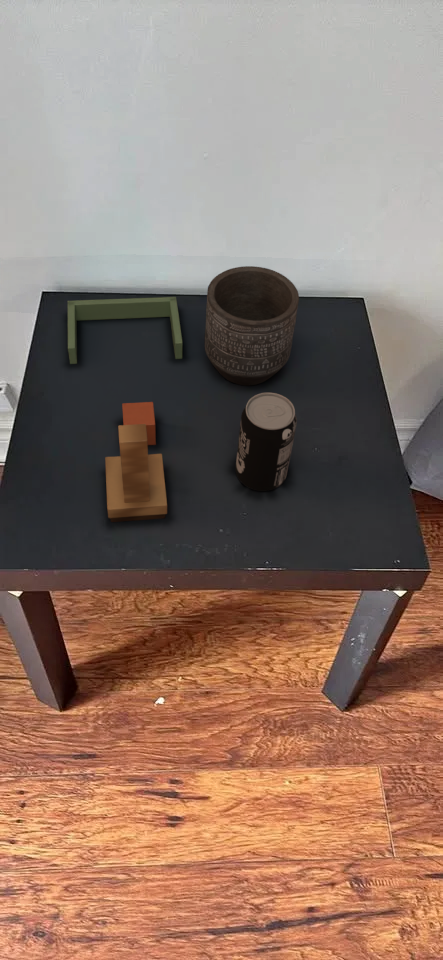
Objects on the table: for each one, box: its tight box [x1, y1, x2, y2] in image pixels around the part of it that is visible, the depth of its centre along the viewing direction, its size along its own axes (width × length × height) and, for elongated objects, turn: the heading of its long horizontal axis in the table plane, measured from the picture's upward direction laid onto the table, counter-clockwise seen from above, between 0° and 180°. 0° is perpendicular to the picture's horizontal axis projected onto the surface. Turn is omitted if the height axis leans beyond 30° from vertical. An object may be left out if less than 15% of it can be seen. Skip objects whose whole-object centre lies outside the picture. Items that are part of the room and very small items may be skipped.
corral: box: [67, 296, 183, 365], centre depth 109 cm, size 16×10×3 cm, turn 97°
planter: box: [204, 265, 300, 386], centre depth 103 cm, size 12×12×13 cm
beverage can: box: [235, 392, 298, 492], centre depth 91 cm, size 7×7×12 cm
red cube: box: [121, 401, 157, 446], centre depth 97 cm, size 4×4×4 cm
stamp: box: [104, 424, 168, 523], centre depth 87 cm, size 7×8×14 cm
